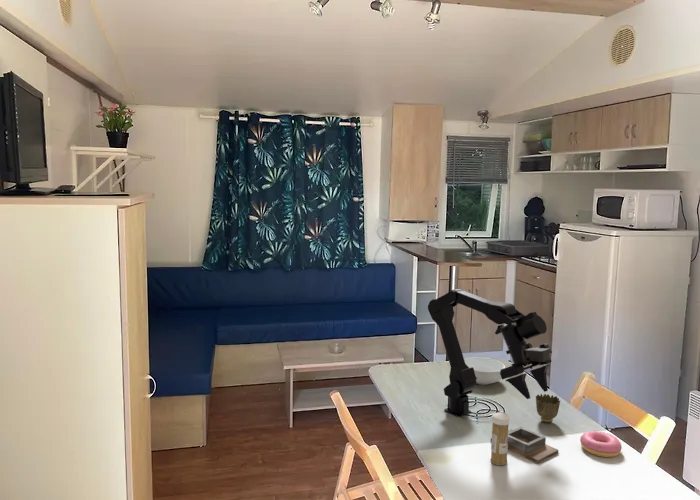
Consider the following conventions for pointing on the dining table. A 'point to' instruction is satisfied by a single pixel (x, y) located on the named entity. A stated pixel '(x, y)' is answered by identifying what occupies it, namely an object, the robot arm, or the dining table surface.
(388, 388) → the dining table surface
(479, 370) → the cereal bowl
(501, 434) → the sprinkles bottle
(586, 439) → the doughnut
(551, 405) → the cup
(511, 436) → the socket board
